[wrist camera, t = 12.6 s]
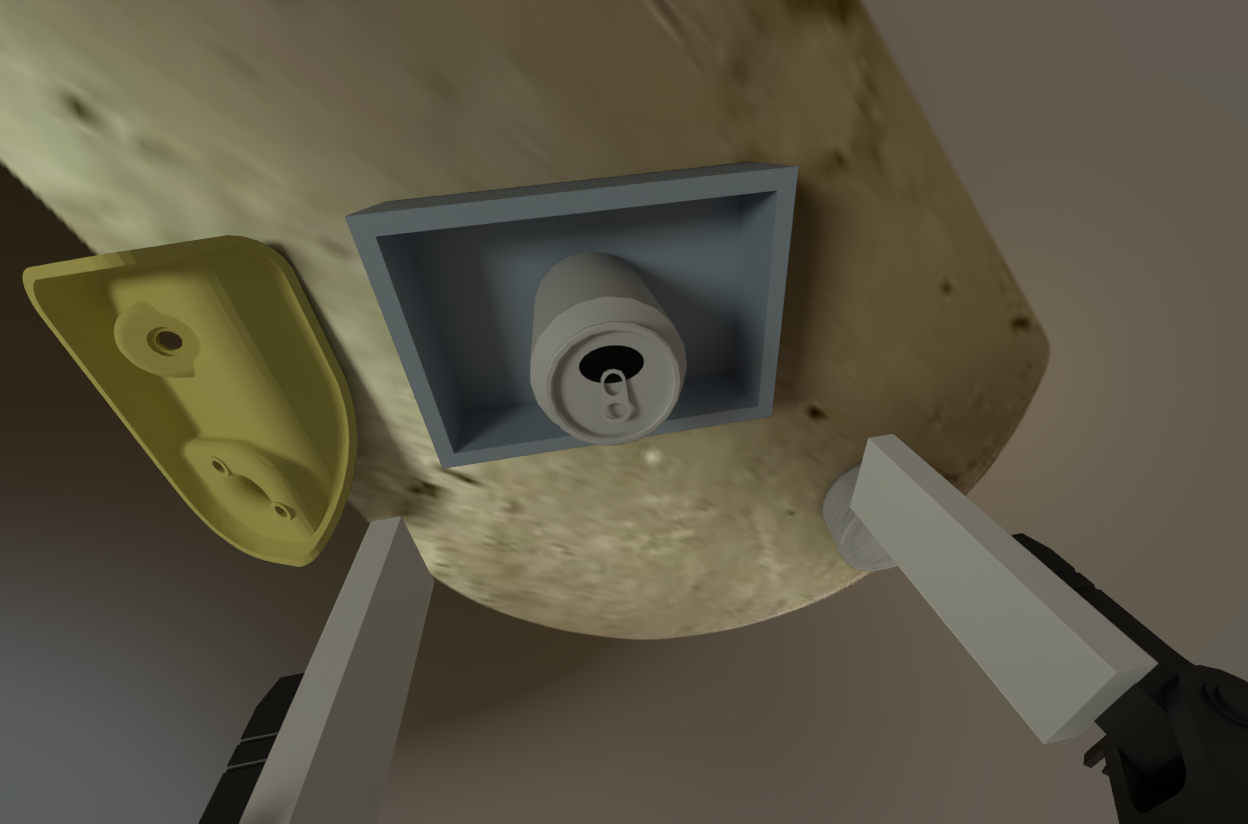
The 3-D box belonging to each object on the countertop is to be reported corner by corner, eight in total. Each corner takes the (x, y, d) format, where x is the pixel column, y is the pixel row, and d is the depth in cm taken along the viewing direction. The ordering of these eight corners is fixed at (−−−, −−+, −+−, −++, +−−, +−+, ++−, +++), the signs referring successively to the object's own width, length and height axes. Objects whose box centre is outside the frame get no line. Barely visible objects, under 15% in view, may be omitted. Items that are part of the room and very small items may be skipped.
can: (645, 244, 28) (701, 301, 18) (646, 352, 32) (693, 449, 22) (526, 252, 27) (514, 317, 17) (542, 362, 31) (540, 468, 21)
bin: (384, 201, 26) (344, 216, 20) (751, 161, 27) (798, 165, 22) (458, 419, 33) (442, 468, 28) (739, 377, 35) (771, 416, 30)
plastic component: (5, 271, 23) (113, 252, 19) (170, 245, 29) (273, 227, 25) (223, 551, 32) (321, 572, 29) (313, 487, 38) (403, 498, 35)
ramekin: (866, 541, 49) (899, 581, 45) (789, 519, 45) (816, 561, 41) (940, 464, 44) (984, 501, 40) (860, 433, 41) (899, 469, 36)
